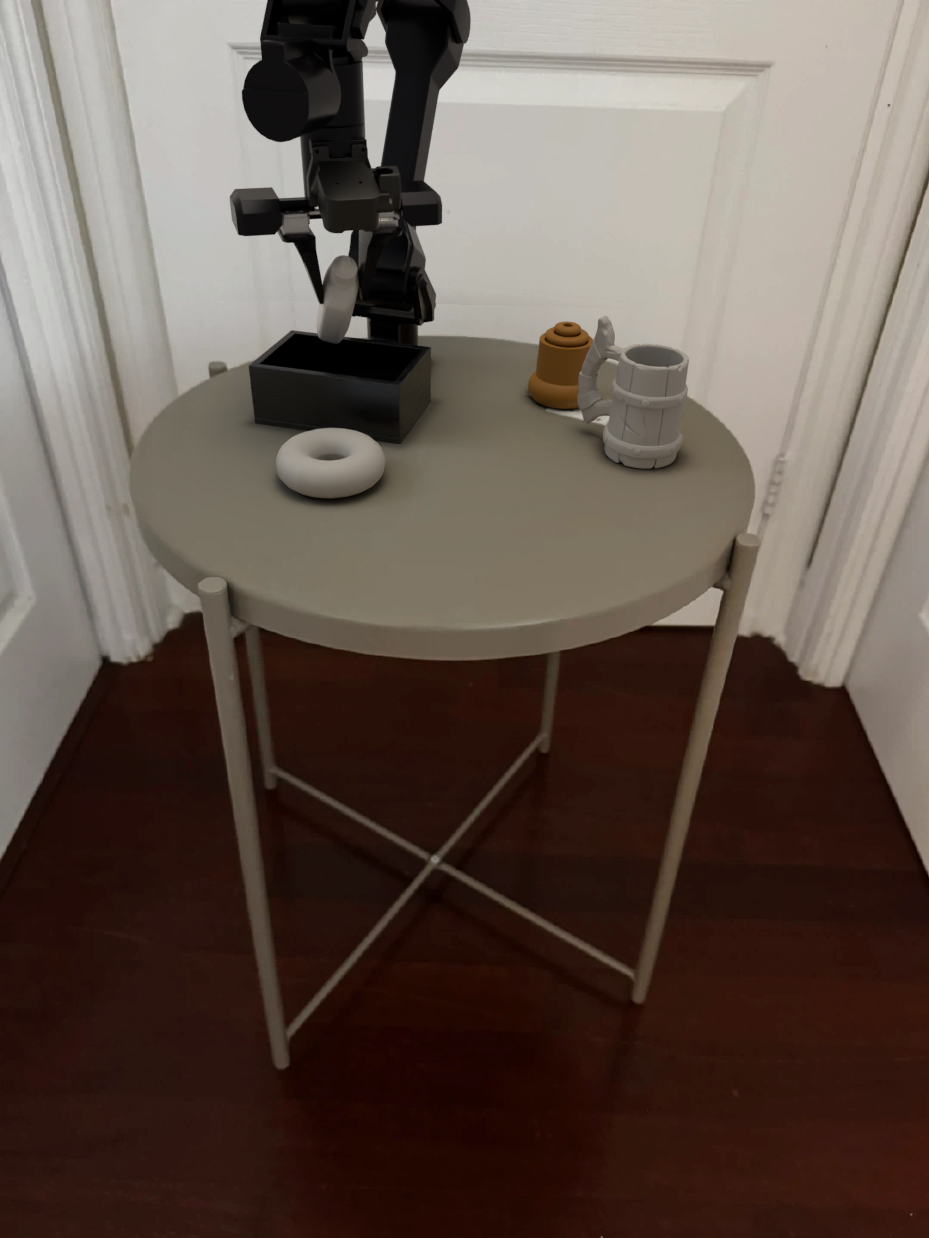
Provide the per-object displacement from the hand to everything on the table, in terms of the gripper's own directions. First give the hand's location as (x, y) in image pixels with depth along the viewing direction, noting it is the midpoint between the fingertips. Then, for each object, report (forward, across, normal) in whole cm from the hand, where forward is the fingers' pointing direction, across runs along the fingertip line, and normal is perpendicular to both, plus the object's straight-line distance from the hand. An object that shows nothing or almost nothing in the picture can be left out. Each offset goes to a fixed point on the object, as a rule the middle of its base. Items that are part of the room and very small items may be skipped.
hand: (342, 301), depth 91 cm
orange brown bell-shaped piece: (+12, +23, -2) cm, 26 cm away
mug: (+12, +25, -14) cm, 31 cm away
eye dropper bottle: (+4, 0, +6) cm, 7 cm away
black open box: (+12, 0, 0) cm, 12 cm away
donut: (+12, -4, -14) cm, 19 cm away
